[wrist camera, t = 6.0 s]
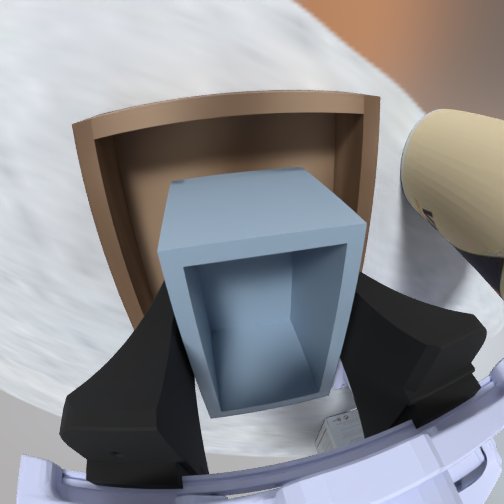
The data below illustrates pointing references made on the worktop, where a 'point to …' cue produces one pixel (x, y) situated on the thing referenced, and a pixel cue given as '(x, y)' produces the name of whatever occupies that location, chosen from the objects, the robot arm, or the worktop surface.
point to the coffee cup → (460, 185)
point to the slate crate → (260, 284)
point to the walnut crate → (214, 163)
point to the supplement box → (339, 431)
